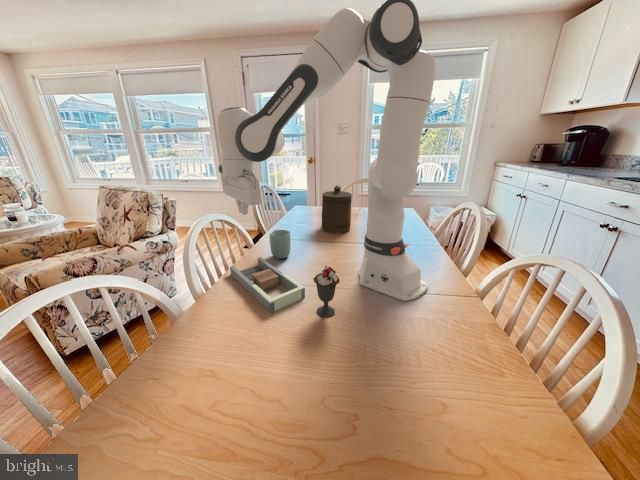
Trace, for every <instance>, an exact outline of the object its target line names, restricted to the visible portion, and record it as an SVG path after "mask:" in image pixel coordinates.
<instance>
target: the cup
mask: <svg viewBox="0 0 640 480" xmlns="http://www.w3.org/2000/svg"><path fill="white" fill-rule="evenodd" d="M291 242H292V241H291V233H290V231H289V230H286V229H275V230H272V231H270V233H269V246H270V247H269V248H270V252H271V255H272V257H273V258H274V259H279V260H282V259H287V258H288V257H289V255H290V254H291V245H292V244H291Z"/></svg>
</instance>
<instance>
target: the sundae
mask: <svg viewBox="0 0 640 480" xmlns="http://www.w3.org/2000/svg"><path fill="white" fill-rule="evenodd" d="M312 279H313V282H314V283H315V285H316V289H317V290H316V291H317V295H318V299H320V301H321V302H323V305H321V306H319V307H317V309H316V314H317V315H318V316H319V317H321V318H326V319H327V318H331V317H332V316H335V313H336V310H335V309H334V308H333V307H332V306H330V305H329V303H330V302H331V301H332V300H333V299H334V297H335V292H336V287H337V285H338V284H339V283H340V278H339V276H338V275H337V274H336V270H334V269H333V268H332V267H330V266H329V267H328V265H325V267H324V269H322V271H321V272H320V273H318V274H316V275H315V276H314V278H312Z"/></svg>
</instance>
